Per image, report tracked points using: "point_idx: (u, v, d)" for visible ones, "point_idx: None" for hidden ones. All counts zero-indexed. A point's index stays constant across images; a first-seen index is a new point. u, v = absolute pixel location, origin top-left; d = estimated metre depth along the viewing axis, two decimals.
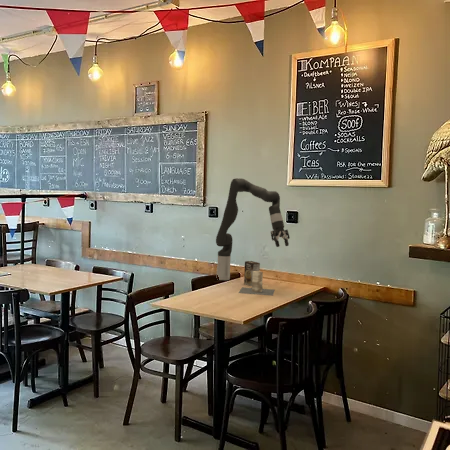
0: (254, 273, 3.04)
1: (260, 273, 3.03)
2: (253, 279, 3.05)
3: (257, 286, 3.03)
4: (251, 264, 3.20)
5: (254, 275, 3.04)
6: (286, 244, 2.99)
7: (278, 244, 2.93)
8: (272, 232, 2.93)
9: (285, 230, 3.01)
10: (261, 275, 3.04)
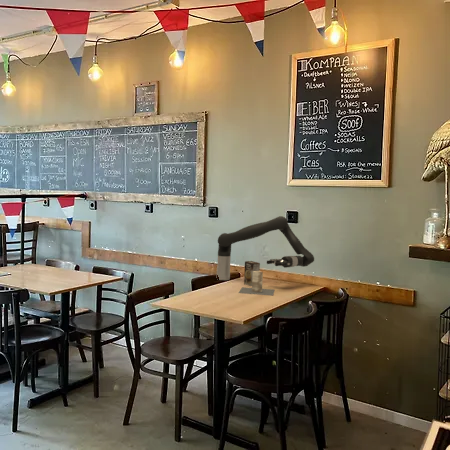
0: (254, 273, 3.04)
1: (260, 273, 3.03)
2: (253, 279, 3.05)
3: (257, 286, 3.03)
4: (251, 264, 3.20)
5: (254, 275, 3.04)
6: (268, 262, 3.14)
7: (277, 265, 3.08)
8: (288, 264, 3.10)
9: (277, 261, 3.21)
10: (261, 275, 3.04)
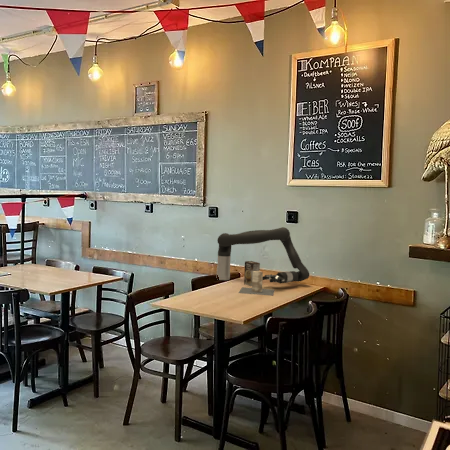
0: (254, 273, 3.04)
1: (260, 273, 3.03)
2: (253, 279, 3.05)
3: (257, 286, 3.03)
4: (251, 264, 3.20)
5: (254, 275, 3.04)
6: (263, 278, 3.13)
7: None
8: (283, 280, 3.09)
9: (272, 277, 3.20)
10: (261, 275, 3.04)
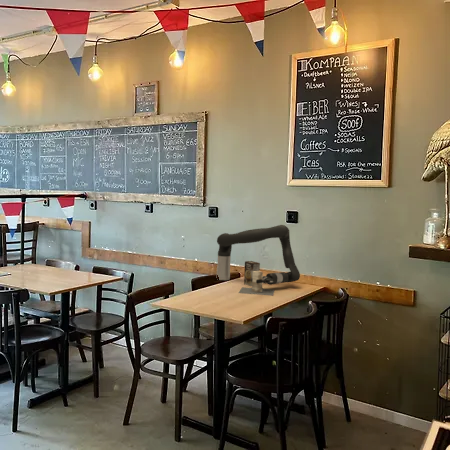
0: (254, 273, 3.04)
1: (260, 273, 3.03)
2: (253, 279, 3.05)
3: (257, 286, 3.03)
4: (251, 264, 3.20)
5: (254, 275, 3.04)
6: None
7: None
8: (271, 282, 3.03)
9: None
10: (261, 275, 3.04)
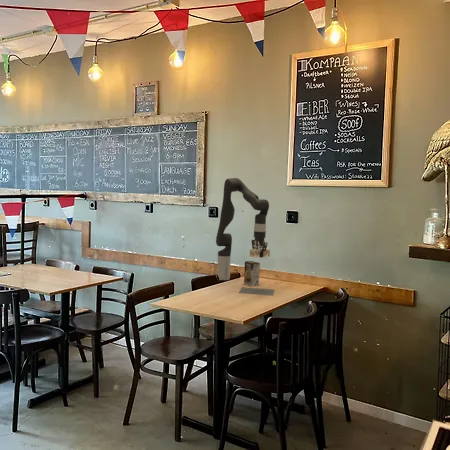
0: None
1: (255, 253, 2.99)
2: None
3: (264, 255, 3.04)
4: (251, 264, 3.20)
5: None
6: None
7: (262, 255, 3.02)
8: (266, 244, 2.98)
9: None
10: (257, 251, 3.00)
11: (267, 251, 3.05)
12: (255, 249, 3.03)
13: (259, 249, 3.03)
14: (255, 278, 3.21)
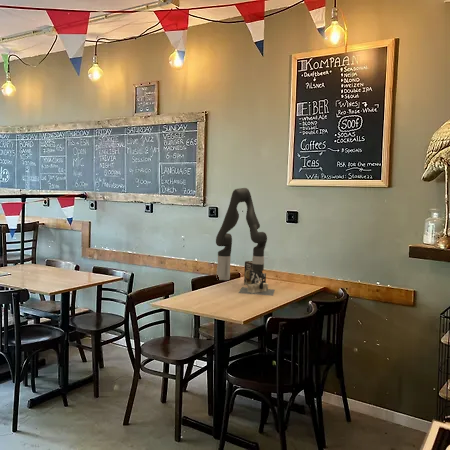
0: None
1: (253, 288, 3.01)
2: None
3: (263, 290, 3.06)
4: (251, 264, 3.20)
5: None
6: None
7: (262, 287, 3.02)
8: (264, 275, 2.99)
9: None
10: (255, 287, 3.02)
11: (265, 286, 3.07)
12: (253, 284, 3.05)
13: (257, 284, 3.05)
14: None
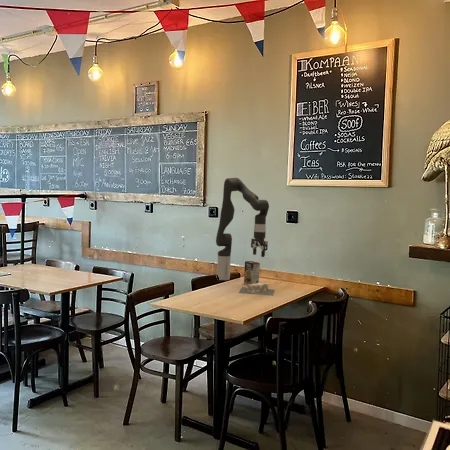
0: None
1: (253, 288, 3.01)
2: None
3: (263, 290, 3.06)
4: (251, 264, 3.20)
5: None
6: (255, 253, 3.08)
7: (264, 254, 3.02)
8: (266, 243, 2.99)
9: (254, 239, 3.09)
10: (255, 287, 3.02)
11: (265, 286, 3.07)
12: (253, 284, 3.05)
13: (257, 284, 3.05)
14: (255, 278, 3.21)
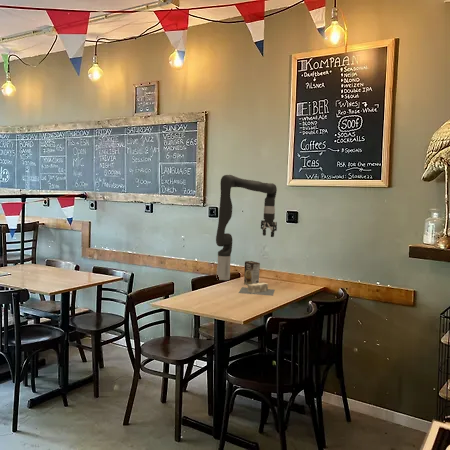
0: None
1: (253, 288, 3.01)
2: None
3: (263, 290, 3.06)
4: (251, 264, 3.20)
5: None
6: (264, 234, 3.27)
7: (273, 235, 3.20)
8: (275, 223, 3.17)
9: None
10: (255, 287, 3.02)
11: (265, 286, 3.07)
12: (253, 284, 3.05)
13: (257, 284, 3.05)
14: (255, 278, 3.21)
